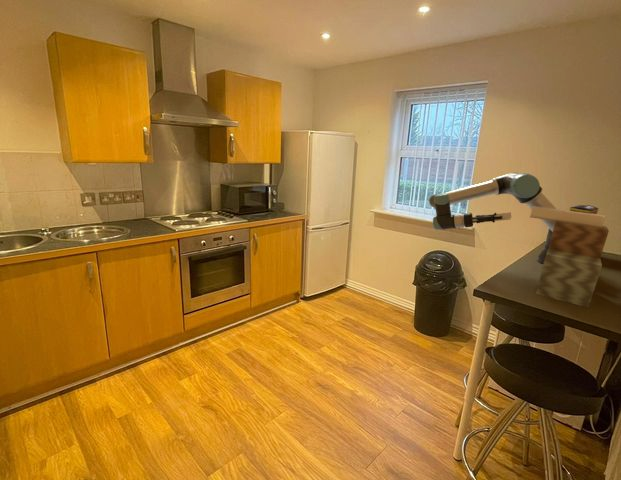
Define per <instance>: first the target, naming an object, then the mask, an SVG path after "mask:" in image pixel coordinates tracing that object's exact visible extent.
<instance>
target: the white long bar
mask: <svg viewBox="0 0 621 480" xmlns="http://www.w3.org/2000/svg"><path fill="white" fill-rule="evenodd" d="M529 215H530V216H529V218H531V219H532V218H533V219H538V220H541V219H544V220H551V221H557V222H564V223H571V224H577V225H584V226H590V227H597V228H602V226H604V224H605V223H604V222H605V219H606V215H605V214H604V215H603V214H602V215H601V214H598V213H597V214H589V213H582V212H574V211H569V210H566V209H565V210H564V209H558V208H557V209H552V208H544V207H537V206H533V207H532V210H531V211H530V214H529Z"/></svg>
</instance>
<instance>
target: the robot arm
mask: <svg viewBox="0 0 621 480" xmlns="http://www.w3.org/2000/svg"><path fill="white" fill-rule="evenodd" d="M542 192H543V187H541V186H540V182H539V180H538V178H537V177H536V176H534V175H532V174H530V173H525V172H524V173H521V172H520V173H519V172H510V173H507V174H503V175H500V176H497V177H493V178H491V180H489V181H485V182H482V183H478V184H474V185H469V186H466V187H463V188H462V187H461V188H459V189H455V190H451V191H447V192H443V193H435V194H432V195H431V196H430V197H429V199H428V201H429V205H430V206H431V207H432V208H434V210H435V215H436V216H433V218H432V226H433V228H434V229H435V230H437V231H438V230H439V231H442V230H443V231H444V230H452V229H458V230H461V229H463V228H473V226H474V224H475V223H476V224H480V223H489V222H491V223H493V224H494V223H496V222H497V221H499V222H500V221H509V220H510V221H511V218H512V212H503V213H497V212H494V213H493V214H492V213H491V214H486V215H485V214H477V215H475V216H474V217H473V213H472V212H466V213H465V212H464V213H456V214H452V211H451V205H455V204H459V203H463V202H467V201H472V200H474V199H475V200H476V199H479V198H483V197H487V196H491V195H495V196H499V195H512V196H513V197H514V198H515V200H517V201H518V202H519V203H520V204H523V205H524V204H525V205H526V206H527V207H529V209H530V210H531V211H532V207H533V206H537V207H544V208H552V209H558V208H557V207H556V206H555V205H554V204H553V203H552V202H551V201H550V200H549V199H548V198H547V197H546V196H545V195H544V194H543V193H542ZM540 220H541V222H543V224H545V225H546V227H548V232H547V234H546V239H545V242H544V243H545V244H544V246H543V249H542V250H541V252H540V253H539V255H538V256H537V258H536V259H537V261H536V262H538V263H540V264H543V265H544V261H545V257H546V254H547V251H548V248H549V244H550V241H551V237H552V233H553V230H554V226H555V222H556V221H551V220H544V219H540Z"/></svg>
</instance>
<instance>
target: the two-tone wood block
mask: <svg viewBox="0 0 621 480" xmlns="http://www.w3.org/2000/svg"><path fill="white" fill-rule="evenodd" d="M609 232H610V230H609V228H608V226H607V225H606V226H605V225H603V226H602V228H597V227H590V226H584V225H577V224H571V223H564V222H557V221H556V222H555V226H554V230H553V233H552V237H551V241H550V244H549V248H548V251H547V254H546V257H545V261H544V264H543V266H542V269H541V271H540V272H541V273H540V277H539V280H538V284H537V288H536V291H535V295H537V296H543V297H546V298H550V299H554V300H558V301H560V302H561V301H562V302H566V303H569V304H573V305H577V306H580V307H584V308H589V307H590V304H591V302H592V299H593V298H592V297H593V294H594V291H595V290H596V286H597V283H598V279H599V277H600V273H601V270H602V267H603V264H602V261H601V257H602V253H603V252H604V251H603V250H604V248H605V244H606V241H607V239H608V235H609Z"/></svg>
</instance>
